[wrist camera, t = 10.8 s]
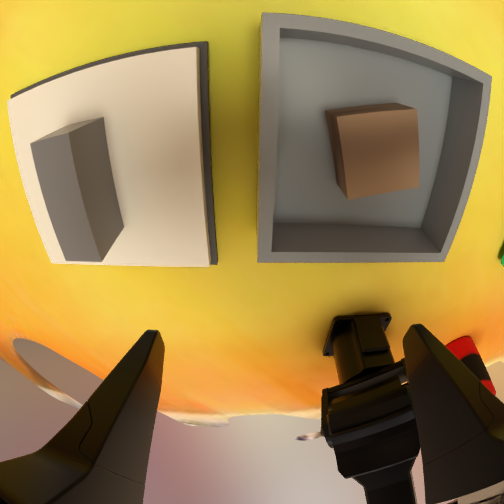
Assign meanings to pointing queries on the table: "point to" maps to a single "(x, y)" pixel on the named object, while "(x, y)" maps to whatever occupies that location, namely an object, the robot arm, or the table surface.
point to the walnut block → (374, 148)
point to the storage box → (320, 151)
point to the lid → (117, 162)
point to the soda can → (471, 360)
